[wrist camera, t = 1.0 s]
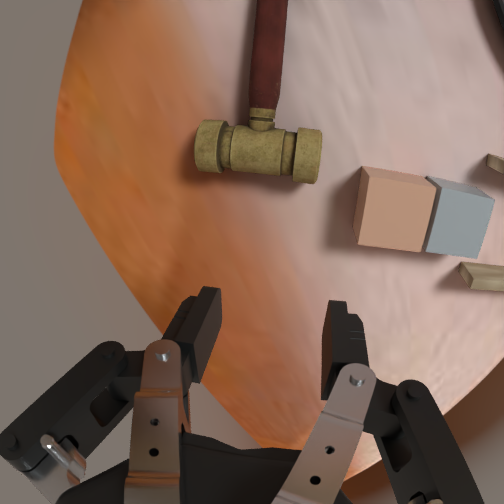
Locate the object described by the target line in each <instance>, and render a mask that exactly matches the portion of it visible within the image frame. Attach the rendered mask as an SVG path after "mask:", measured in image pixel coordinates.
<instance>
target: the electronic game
mask: <svg viewBox="0 0 504 504" xmlns="http://www.w3.org/2000/svg"><path fill="white" fill-rule="evenodd" d="M493 3H494V6H495V9H496V12H497V14H498V17H499V20H500V22H501V25H502V27H503V30H504V0H493Z"/></svg>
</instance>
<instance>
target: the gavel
mask: <svg viewBox="0 0 504 504" xmlns="http://www.w3.org/2000/svg"><path fill="white" fill-rule="evenodd" d="M287 7H288V0H257V8H256V18H255V29H254V39H253V50H252V60H251V71H250V83H249V104H250V112H249V116H251V120H248V126H244V125H237V126H236V127H233V126H229V125H228V122H227V121H224V120H203V121H202V122H201V124H200V125H199V127H198V129H197V132H196V136H195V142H194V159H195V164H196V166H197V168H198V170H199V171H203V172H214V173H222V172H223V171H224V169H225V168H230V169H232V170H233V171H242V172H251V173H260V174H268V175H277V176H280V175H281V174H284V175H291V176H292V180H293V181H294V182H301V183H308V184H314V183H315V182H316V181H317V177H318V172H319V165H320V158H321V148H322V133H321V131H320V130H314V129H307V128H298V132H297V133H295V132H287V131H286V130H285V129H277V128H274V126H275V122H273V118H274V119H275V112H276V107H277V103H278V100H279V96H280V86H281V75H282V64H283V53H284V42H285V30H286V19H287Z"/></svg>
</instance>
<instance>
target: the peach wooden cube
mask: <svg viewBox="0 0 504 504" xmlns="http://www.w3.org/2000/svg"><path fill="white" fill-rule="evenodd" d="M435 193H436V187H435V186H434V185H432V184H431V183H430V182H429V181H427V180H426V179H425V178H424V177H422V176H418V175H413V174H408V173H402V172H397V171H391V170H385V169H379V168H372V167H366V166H362V170H361V177H360V184H359V191H358V197H357V204H356V210H355V216H354V222H353V230H354V233H355V237H356V240H357V244H358V245H365V246H373V247H381V248H390V249H397V250H405V251H413V252H421V249H422V245H423V242H424V238H425V234H426V231H427V227H428V223H429V219H430V215H431V211H432V206H433V202H434V198H435Z"/></svg>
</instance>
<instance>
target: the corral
mask: <svg viewBox="0 0 504 504" xmlns="http://www.w3.org/2000/svg"><path fill="white" fill-rule="evenodd" d="M486 165H487V166H489V167H491V168H493V169H495V170H496V171H498V172H500V173H502V174H504V158H501V157H498V156H495V155H491V154H488V158H487V164H486ZM459 273H460V274H461V276H462V277H463V279H464V280H465V282H466V283H467V285H468V286H469V288H470V289H478V290H492V291H504V266H496V265H487V264H478V263H469V262H461V265H460V268H459Z"/></svg>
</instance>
